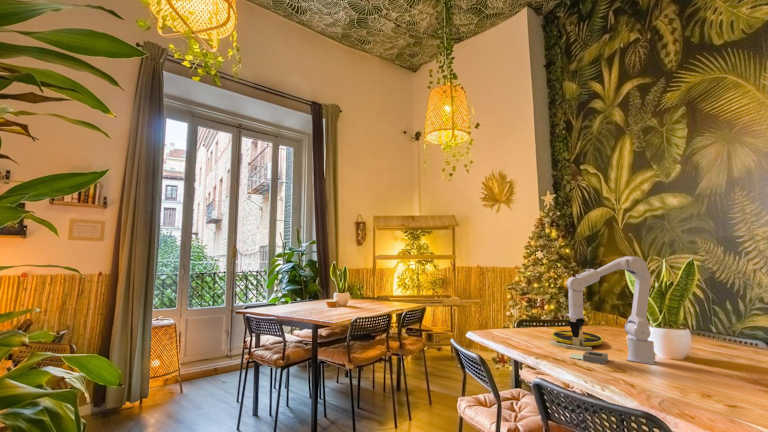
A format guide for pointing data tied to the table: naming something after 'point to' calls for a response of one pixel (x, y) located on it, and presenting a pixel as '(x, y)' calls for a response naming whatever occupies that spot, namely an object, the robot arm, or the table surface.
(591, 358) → the gray block
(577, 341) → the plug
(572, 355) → the mat
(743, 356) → the table surface
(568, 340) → the wall ornament
